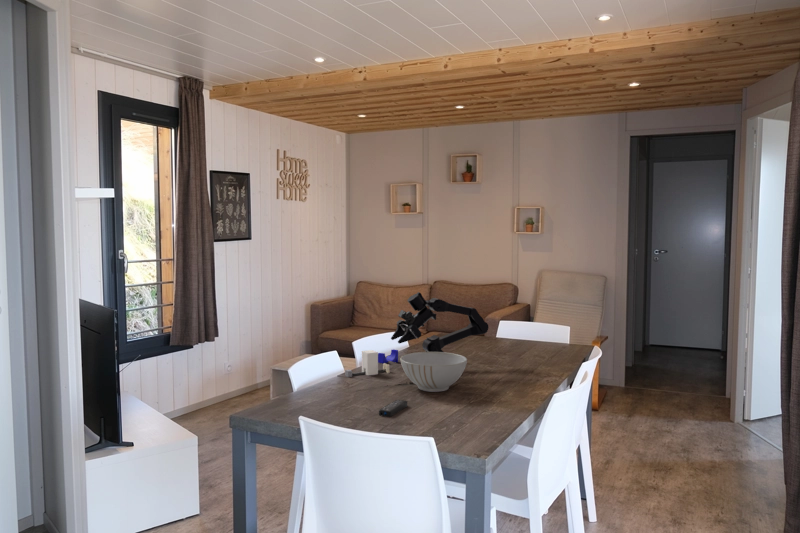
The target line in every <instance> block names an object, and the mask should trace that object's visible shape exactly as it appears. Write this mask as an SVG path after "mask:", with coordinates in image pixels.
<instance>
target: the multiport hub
mask: <svg viewBox="0 0 800 533" xmlns="http://www.w3.org/2000/svg"><path fill="white" fill-rule="evenodd" d="M407 407H408V400H402V399H395V400H393V401H392V402H390V403H389V404H387V405H385V406H384V407H381V408H379V409H378V416H380V417H388V418H391V417H392V416H394V415H395V414H398V413H399V412H401V411H402V410H404V409H405V408H407Z"/></svg>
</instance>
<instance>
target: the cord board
mask: <svg viewBox="0 0 800 533" xmlns="http://www.w3.org/2000/svg"><path fill="white" fill-rule="evenodd" d="M380 373H381V374H382V373H386V374H389V373H391V371H390V364H387V362H386V363H382V369H378V374H380ZM363 375H366V372H362V371H360V372H359V371H358V372H353V370H351V369H345V372H344V376H345V377H347V378H349V377H350V378H351V377H354V376H363Z"/></svg>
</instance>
